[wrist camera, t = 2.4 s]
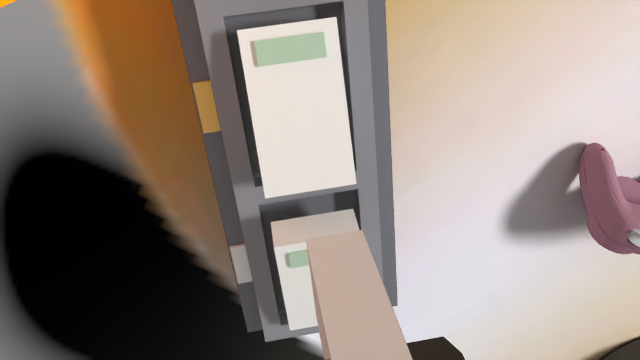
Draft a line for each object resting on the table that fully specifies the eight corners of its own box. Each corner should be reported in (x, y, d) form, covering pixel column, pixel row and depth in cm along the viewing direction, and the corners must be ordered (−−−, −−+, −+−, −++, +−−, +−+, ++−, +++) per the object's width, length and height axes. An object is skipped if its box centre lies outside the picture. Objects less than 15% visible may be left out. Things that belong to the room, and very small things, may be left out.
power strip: (381, 265, 35) (402, 317, 30) (246, 288, 34) (248, 345, 30) (350, -280, 21) (379, -328, 17) (126, -259, 21) (97, -304, 16)
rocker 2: (355, 293, 30) (362, 320, 28) (286, 306, 29) (290, 333, 28) (353, 208, 25) (361, 235, 24) (270, 222, 25) (274, 250, 23)
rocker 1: (350, 175, 24) (357, 184, 22) (264, 189, 24) (265, 199, 22) (331, 19, 22) (337, 16, 21) (238, 31, 22) (236, 30, 20)
